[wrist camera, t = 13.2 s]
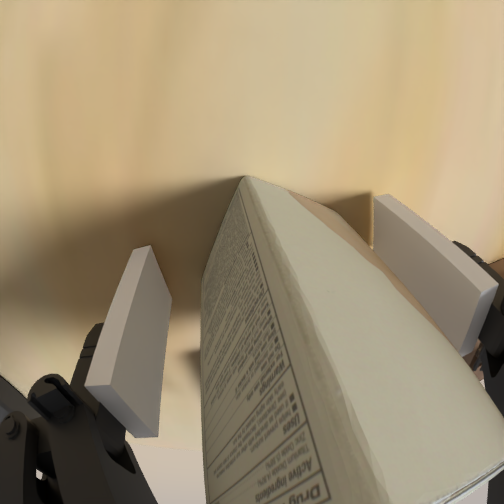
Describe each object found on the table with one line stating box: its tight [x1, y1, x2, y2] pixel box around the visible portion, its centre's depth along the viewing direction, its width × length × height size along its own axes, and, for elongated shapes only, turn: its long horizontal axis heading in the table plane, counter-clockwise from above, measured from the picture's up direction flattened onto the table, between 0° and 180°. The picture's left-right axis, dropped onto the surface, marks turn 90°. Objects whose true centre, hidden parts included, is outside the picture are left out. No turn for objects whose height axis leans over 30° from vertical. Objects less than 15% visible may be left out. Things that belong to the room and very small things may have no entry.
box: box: [200, 176, 504, 504], centre depth 8 cm, size 5×4×11 cm
